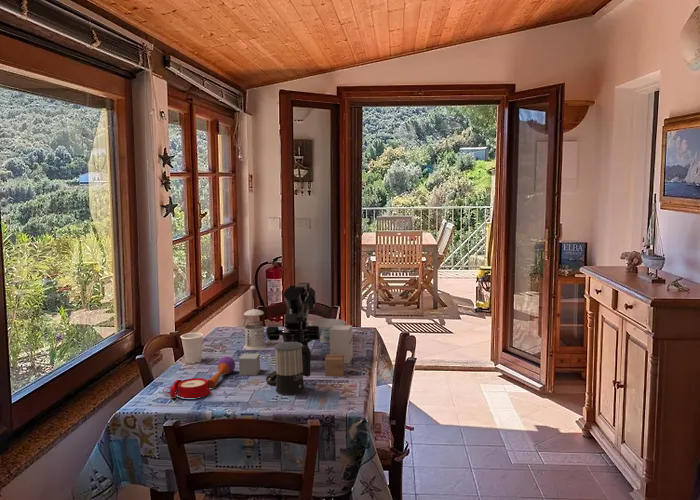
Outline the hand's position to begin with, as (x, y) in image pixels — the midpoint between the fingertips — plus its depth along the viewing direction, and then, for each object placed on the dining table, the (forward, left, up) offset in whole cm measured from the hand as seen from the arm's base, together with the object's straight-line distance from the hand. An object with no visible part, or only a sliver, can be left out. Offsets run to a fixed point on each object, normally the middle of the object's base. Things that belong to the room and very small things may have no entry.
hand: (291, 354), depth 213 cm
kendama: (-15, -19, -7) cm, 26 cm away
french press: (-37, +15, -7) cm, 41 cm away
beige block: (-12, -9, -7) cm, 16 cm away
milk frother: (+9, -12, -7) cm, 16 cm away
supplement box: (+5, +21, -7) cm, 22 cm away
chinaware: (-18, +39, -7) cm, 43 cm away
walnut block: (+13, +8, -7) cm, 17 cm away
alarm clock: (-11, -35, -7) cm, 38 cm away
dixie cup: (-41, -12, -7) cm, 43 cm away
